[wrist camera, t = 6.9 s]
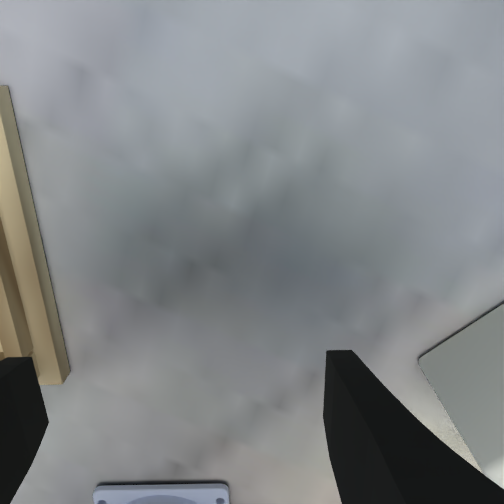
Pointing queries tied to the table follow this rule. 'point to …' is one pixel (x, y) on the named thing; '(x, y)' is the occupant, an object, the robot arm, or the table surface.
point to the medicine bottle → (474, 388)
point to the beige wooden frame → (24, 266)
